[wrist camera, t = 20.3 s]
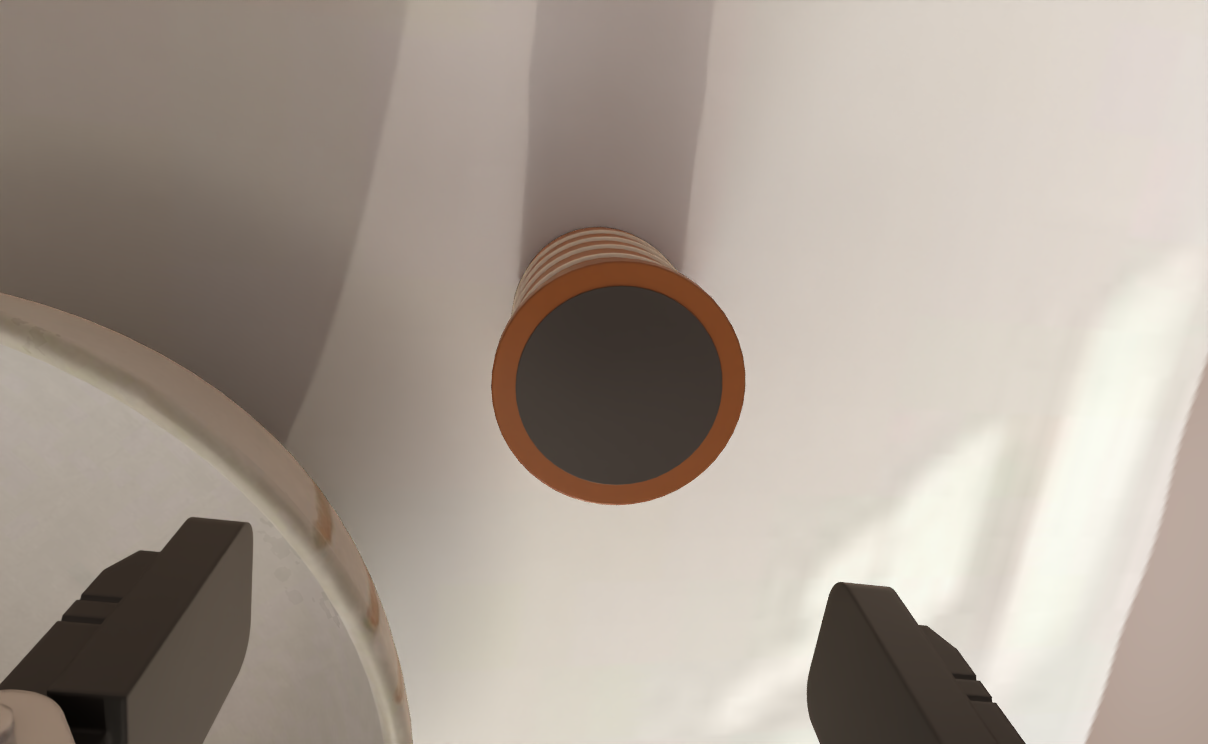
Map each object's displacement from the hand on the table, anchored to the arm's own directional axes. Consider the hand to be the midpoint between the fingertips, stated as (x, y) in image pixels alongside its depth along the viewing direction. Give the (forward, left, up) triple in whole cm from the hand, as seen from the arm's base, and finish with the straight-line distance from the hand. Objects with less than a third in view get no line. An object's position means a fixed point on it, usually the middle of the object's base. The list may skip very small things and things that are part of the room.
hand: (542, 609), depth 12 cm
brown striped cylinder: (-1, +3, -15) cm, 16 cm away
